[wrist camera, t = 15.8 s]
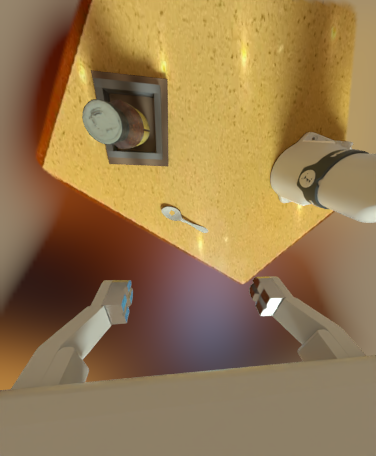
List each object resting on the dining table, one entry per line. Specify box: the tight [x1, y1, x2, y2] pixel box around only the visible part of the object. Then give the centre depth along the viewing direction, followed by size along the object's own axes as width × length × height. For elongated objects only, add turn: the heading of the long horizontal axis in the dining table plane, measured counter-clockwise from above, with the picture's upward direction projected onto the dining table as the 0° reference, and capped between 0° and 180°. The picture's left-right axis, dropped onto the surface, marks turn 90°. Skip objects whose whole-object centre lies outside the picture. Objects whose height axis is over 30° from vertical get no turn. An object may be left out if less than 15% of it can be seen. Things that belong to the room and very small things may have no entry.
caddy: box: [91, 71, 168, 166], centre depth 31 cm, size 14×16×5 cm
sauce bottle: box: [82, 99, 150, 149], centre depth 24 cm, size 7×6×20 cm
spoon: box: [162, 206, 208, 233], centre depth 47 cm, size 4×21×2 cm, turn 56°
